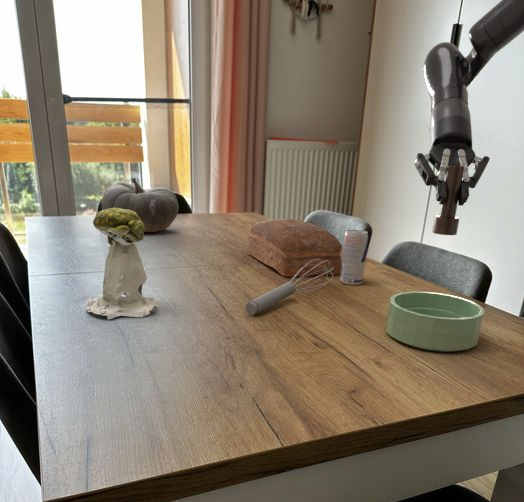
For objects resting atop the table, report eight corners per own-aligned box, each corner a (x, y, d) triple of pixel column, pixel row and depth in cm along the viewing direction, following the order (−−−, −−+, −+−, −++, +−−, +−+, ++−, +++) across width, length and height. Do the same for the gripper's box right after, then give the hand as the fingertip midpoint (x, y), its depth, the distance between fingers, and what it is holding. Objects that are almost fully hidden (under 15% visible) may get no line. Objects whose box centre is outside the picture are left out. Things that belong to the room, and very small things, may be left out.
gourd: (101, 215, 183) (106, 165, 175) (171, 227, 190) (179, 180, 183) (97, 235, 162) (102, 179, 154) (176, 248, 169) (185, 195, 162)
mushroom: (83, 302, 99) (73, 204, 92) (149, 296, 104) (145, 203, 97) (90, 321, 89) (79, 213, 82) (163, 314, 94) (159, 212, 87)
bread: (282, 279, 122) (285, 230, 118) (243, 253, 148) (244, 212, 143) (345, 275, 128) (350, 229, 124) (297, 251, 153) (300, 212, 149)
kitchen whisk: (230, 315, 96) (231, 282, 94) (313, 281, 122) (316, 255, 120) (257, 322, 93) (259, 288, 91) (337, 286, 120) (340, 259, 117)
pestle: (449, 231, 99) (461, 165, 95) (460, 235, 95) (473, 167, 91) (428, 230, 99) (439, 164, 94) (438, 235, 95) (450, 166, 90)
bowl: (450, 322, 98) (455, 291, 96) (495, 353, 84) (503, 318, 82) (373, 322, 96) (377, 291, 94) (406, 355, 82) (412, 319, 79)
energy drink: (364, 281, 124) (371, 231, 119) (359, 286, 119) (365, 234, 114) (343, 278, 126) (348, 228, 121) (337, 283, 121) (342, 231, 116)
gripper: (417, 112, 96) (417, 186, 90) (494, 115, 95) (500, 190, 89) (409, 142, 103) (408, 213, 97) (481, 146, 102) (485, 217, 96)
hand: (452, 201), depth 93 cm, fingers closed on pestle, 3 cm apart
